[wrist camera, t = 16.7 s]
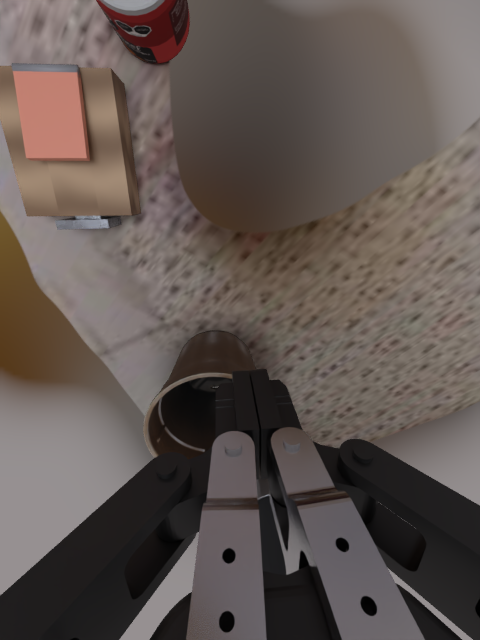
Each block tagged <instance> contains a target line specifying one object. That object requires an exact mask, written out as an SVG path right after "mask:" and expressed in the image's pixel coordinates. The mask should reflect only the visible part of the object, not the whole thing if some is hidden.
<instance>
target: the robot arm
mask: <svg viewBox="0 0 480 640" xmlns="http://www.w3.org/2000/svg"><path fill="white" fill-rule="evenodd" d="M380 503H381V504H380ZM383 505H384V506H385V507H384V506H383ZM387 508H388V509H387ZM390 510H391V511H390ZM394 513H395V514H394ZM397 515H398V516H397ZM400 517H401V518H402V519H401V518H400ZM404 520H405V521H404ZM407 522H408V523H407ZM410 524H411V525H412V526H411V525H410ZM414 527H415V528H414ZM197 532H199V539H198V546H197V555H196V563H195V571H194V579H193V587H192V592H191V593H189V594H188V595H187V596H185V597H184V598H183V599H182V600H180V601H179V602H178V603H177V604H176V605H175V606H174V607H173V608H172V609H171V610H170V611H169V613H168V614H167V615H166V616H165V618H164V619H163V620H162V622H161V623H160V625H159V626H158V627H157V629H156V631H155V632H154V634H153V635H152V637H151V638H150V640H462V639H461V638H460V637H459V636H457V635H456V634H455V633H454V632H453V631H452V630H451V629H450V628H448V627H447V626H446V625H445V624H444V623H443V622H442V621H441V620H440V619H438V618H437V617H436V616H435V615H434V614H433V613H432V612H431V611H430V610H428V609H427V608H426V607H425V606H424V605H423V604H422V603H421V602H420V601H418V600H417V599H416V598H415V597H414V596H413V595H411V594H410V593H409V592H408V591H406V590H405V589H404V588H402V587H401V586H400V585H398V584H396V583H395V582H394V580H393V578H392V576H391V574H390V572H389V570H388V568H389V569H390V570H391V571H392V572H394V573H395V574H396V575H397V576H398V577H399V578H400V579H402V580H403V581H404V582H405V583H406V584H408V585H409V586H410V587H411V588H412V589H414V590H415V591H416V592H417V593H418V594H419V595H421V596H422V597H423V598H424V599H425V600H427V601H428V602H429V603H430V604H431V605H433V606H434V607H435V608H436V609H437V610H438V611H440V612H441V613H442V614H443V615H444V616H446V617H447V618H448V619H449V620H450V621H452V622H453V623H454V624H455V625H456V626H458V627H459V628H460V629H461V630H462V631H463V632H465V633H466V634H467V635H468V636H469V637H471V638H472V639H473V640H480V506H479V505H478V504H476V503H474V502H472V501H471V500H469V499H467V498H466V497H464V496H462V495H460V494H459V493H457V492H455V491H453V490H452V489H450V488H448V487H447V486H445V485H443V484H441V483H439V482H438V481H436V480H434V479H432V478H431V477H429V476H427V475H426V474H424V473H422V472H420V471H418V470H417V469H415V468H414V467H412V466H410V465H408V464H407V463H405V462H403V461H401V460H400V459H398V458H396V457H394V456H393V455H391V454H389V453H388V452H386V451H384V450H382V449H381V448H379V447H377V446H375V445H374V444H372V443H370V442H367V441H365V440H361V439H350V440H347V441H345V442H343V443H342V445H341V446H340V449H338V448H333V447H328V446H323V445H320V444H317V443H315V442H313V441H312V439H311V438H310V436H309V435H308V434H307V433H306V432H304V431H303V430H302V428H301V425H300V422H299V419H298V417H297V414H296V411H295V409H294V406H293V404H292V400H291V398H290V395H289V392H288V389H287V387H286V386H285V385H284V384H283V383H282V382H281V381H280V380H269V377H268V373H267V370H266V369H258V370H250V371H249V370H242V371H232V383H221V384H220V385H219V387H218V388H217V390H216V435H215V441H214V443H213V445H212V446H211V448H210V449H209V450H207V451H206V452H205V453H203V454H201V455H199V456H197V457H194V458H191V459H187V458H186V457H185V456H184V455H182V454H180V453H177V452H168V453H164V454H161V455H159V456H157V457H155V458H154V459H153V460H152V461H150V462H149V463H148V464H147V465H146V466H145V467H144V468H143V469H142V470H140V471H139V472H138V473H137V474H136V475H135V476H134V477H133V478H131V479H130V480H129V481H128V482H127V483H126V484H125V485H124V486H122V487H121V488H120V489H119V490H118V491H117V492H116V493H115V494H114V495H112V496H111V497H110V498H109V499H108V500H107V501H106V502H105V503H103V504H102V505H101V506H100V507H99V508H98V509H97V510H96V511H95V512H93V513H92V514H91V515H90V516H89V517H88V518H87V519H86V520H85V521H83V522H82V523H81V524H80V525H79V526H78V527H77V528H76V529H74V530H73V531H72V532H71V533H70V534H69V535H68V536H67V537H65V538H64V539H63V540H62V541H61V542H60V543H59V544H58V545H57V546H55V547H54V549H52V550H51V551H50V552H49V553H48V554H46V555H45V556H44V557H43V558H42V559H41V560H40V561H39V562H38V563H36V565H34V566H33V567H32V568H31V569H30V570H29V571H27V572H26V573H25V574H24V575H23V576H22V577H21V578H20V579H18V580H17V581H16V582H15V583H14V584H13V585H12V586H11V587H10V588H8V589H7V590H6V591H5V592H4V593H3V594H2V595H1V596H0V640H119V639H120V638H121V636H122V635H123V634H124V632H125V631H126V630H127V628H128V627H129V625H130V624H131V623H132V622H133V620H134V619H135V617H136V616H137V615H138V614H139V612H140V611H141V610H142V608H143V607H144V605H145V604H146V603H147V601H148V600H149V599H150V597H151V596H152V595H153V593H154V592H155V591H156V589H157V588H158V587H159V585H160V584H161V582H162V581H163V580H164V579H165V577H166V576H167V575H168V573H169V572H170V571H171V569H172V568H173V566H174V565H175V564H176V563H177V561H178V560H179V559H180V557H181V556H182V554H183V553H184V552H185V550H186V549H187V548H188V546H189V545H190V544H191V542H192V541H193V539H194V538H195V536H196V533H197Z"/></svg>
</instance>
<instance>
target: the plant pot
mask: <svg viewBox="0 0 480 640" xmlns="http://www.w3.org/2000/svg"><path fill="white" fill-rule="evenodd" d="M242 370H249V371H250V370H256V368H255V365H254V363H253V360H252V357H251V355H250V352H249V350H248V348H247V346H246V345H245V344H244V343H243V342H242V341H241V340H239V339H238V338H237V337H235V336H234V335H233V334H230V333H227V332H223V331H209V332H204V333H201V334H198V335H196V336H194V337H193V338H191V339H190V340H189V341H188V343H187V344H186V345H185V346H184V347H183V349H182V350H181V353H180V355H179V358H178V360H177V362H176V364H175V367H174V369H173V371H172V373H171V375H170V378H169V380H168V381H167V382H166V383H165V385H164V386H163V388H162V389H161V391H160V392H159V394H158V395H157V396H156V397H155V398H154V399H153V401H152V402H151V404H150V406H149V408H148V410H147V413H146V415H145V419H144V425H143V432H144V438H145V442H146V444H147V446H148V449H149V451H150V452H151V454H152V455H153V456H154V458H155V457H157V456H159V455H161V454H164V453H168V452H177V453H180V454H182V455H184V456H185V457H186V458H187V459H191V458H194V457H197V456H199V455H201V454H203V453H205V452H206V451H207V450H209V449H210V448H211V446H212V445H213V443H214V441H215V435H216V390H217V389H212V388H211V387H215V386H219V385H220V384H221V383H232V371H242Z"/></svg>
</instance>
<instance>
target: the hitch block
mask: <svg viewBox="0 0 480 640" xmlns="http://www.w3.org/2000/svg"><path fill="white" fill-rule="evenodd" d="M79 69H80V72H81V84H82V93H83V101H84V110H85V119H86V128H87V137H88V146H89V155H90V161H31V160H29V159H27V158H26V154H25V148H24V141H23V134H22V128H21V121H20V115H19V108H18V101H17V95H16V88H15V82H14V75H13V70H12V66H0V120H1V123H2V127H3V131H4V134H5V138H6V142H7V145H8V149H9V152H10V156H11V160H12V163H13V167H14V171H15V174H16V178H17V182H18V185H19V189H20V192H21V196H22V200H23V203H24V207H25V211H26V214H27V216H115V215H135V214H139V213H141V211H140V203H139V195H138V187H137V180H136V172H135V164H134V157H133V149H132V141H131V133H130V126H129V118H128V110H127V103H126V95H125V87H124V83H123V82H122V81H121V80H120V79H119V77H118V76H117V75H116V74H115V73H114V72H113V70H112V69H111V68H79Z"/></svg>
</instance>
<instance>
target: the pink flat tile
mask: <svg viewBox="0 0 480 640" xmlns="http://www.w3.org/2000/svg"><path fill="white" fill-rule="evenodd" d="M12 70H13V75H14V82H15V88H16V95H17V101H18V108H19V115H20V121H21V128H22V134H23V141H24V148H25V154H26V158H27V159H29V160H31V161H90V155H89V146H88V137H87V128H86V119H85V110H84V101H83V93H82V84H81V72H80V69H79V67H78V65H63V64H19V63H12Z"/></svg>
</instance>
